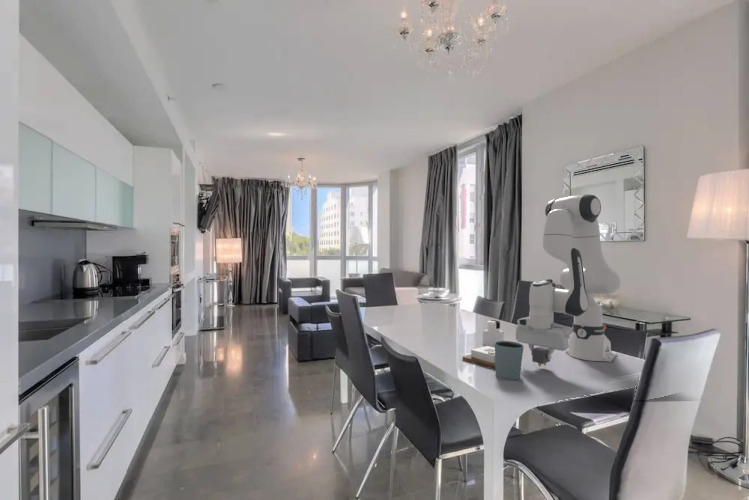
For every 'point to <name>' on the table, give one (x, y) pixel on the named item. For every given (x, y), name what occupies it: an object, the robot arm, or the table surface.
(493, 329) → the medicine bottle
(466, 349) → the table surface
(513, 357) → the teal cup
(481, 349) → the socket
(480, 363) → the mounting board
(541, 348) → the plug
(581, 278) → the robot arm
